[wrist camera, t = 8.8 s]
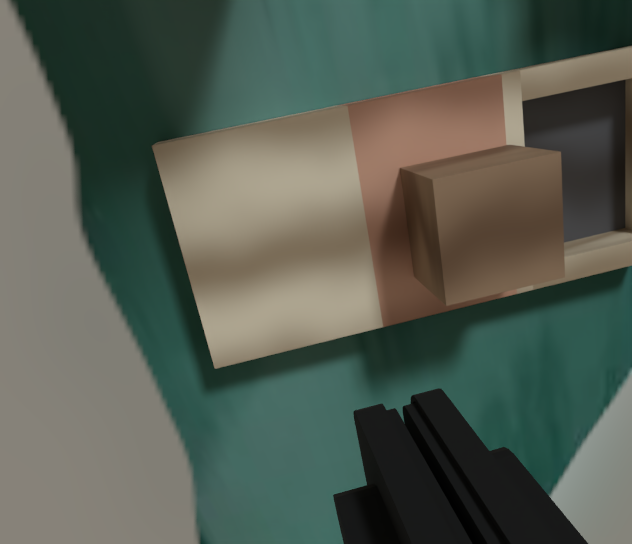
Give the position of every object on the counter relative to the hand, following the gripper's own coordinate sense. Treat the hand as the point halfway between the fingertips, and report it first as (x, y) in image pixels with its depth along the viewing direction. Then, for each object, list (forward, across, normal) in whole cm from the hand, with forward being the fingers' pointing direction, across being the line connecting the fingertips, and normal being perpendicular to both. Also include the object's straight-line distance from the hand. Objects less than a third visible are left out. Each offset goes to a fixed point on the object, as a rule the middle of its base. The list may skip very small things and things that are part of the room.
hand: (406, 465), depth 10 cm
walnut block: (+18, -9, +1) cm, 21 cm away
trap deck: (+21, -8, 0) cm, 23 cm away
